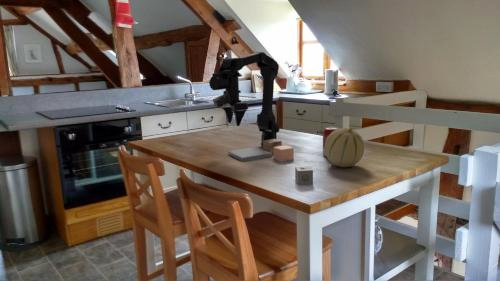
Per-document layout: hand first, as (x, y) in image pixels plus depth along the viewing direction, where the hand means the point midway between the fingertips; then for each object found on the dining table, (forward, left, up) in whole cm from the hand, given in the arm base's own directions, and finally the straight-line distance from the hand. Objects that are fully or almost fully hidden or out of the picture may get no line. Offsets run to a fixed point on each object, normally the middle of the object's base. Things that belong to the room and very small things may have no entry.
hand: (233, 124), depth 170 cm
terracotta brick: (-13, +19, -13) cm, 27 cm away
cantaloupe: (-26, +41, -14) cm, 50 cm away
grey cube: (-2, +49, -14) cm, 51 cm away
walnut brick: (-16, +5, -13) cm, 22 cm away
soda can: (-32, +26, -14) cm, 43 cm away
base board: (-4, +6, -13) cm, 15 cm away
